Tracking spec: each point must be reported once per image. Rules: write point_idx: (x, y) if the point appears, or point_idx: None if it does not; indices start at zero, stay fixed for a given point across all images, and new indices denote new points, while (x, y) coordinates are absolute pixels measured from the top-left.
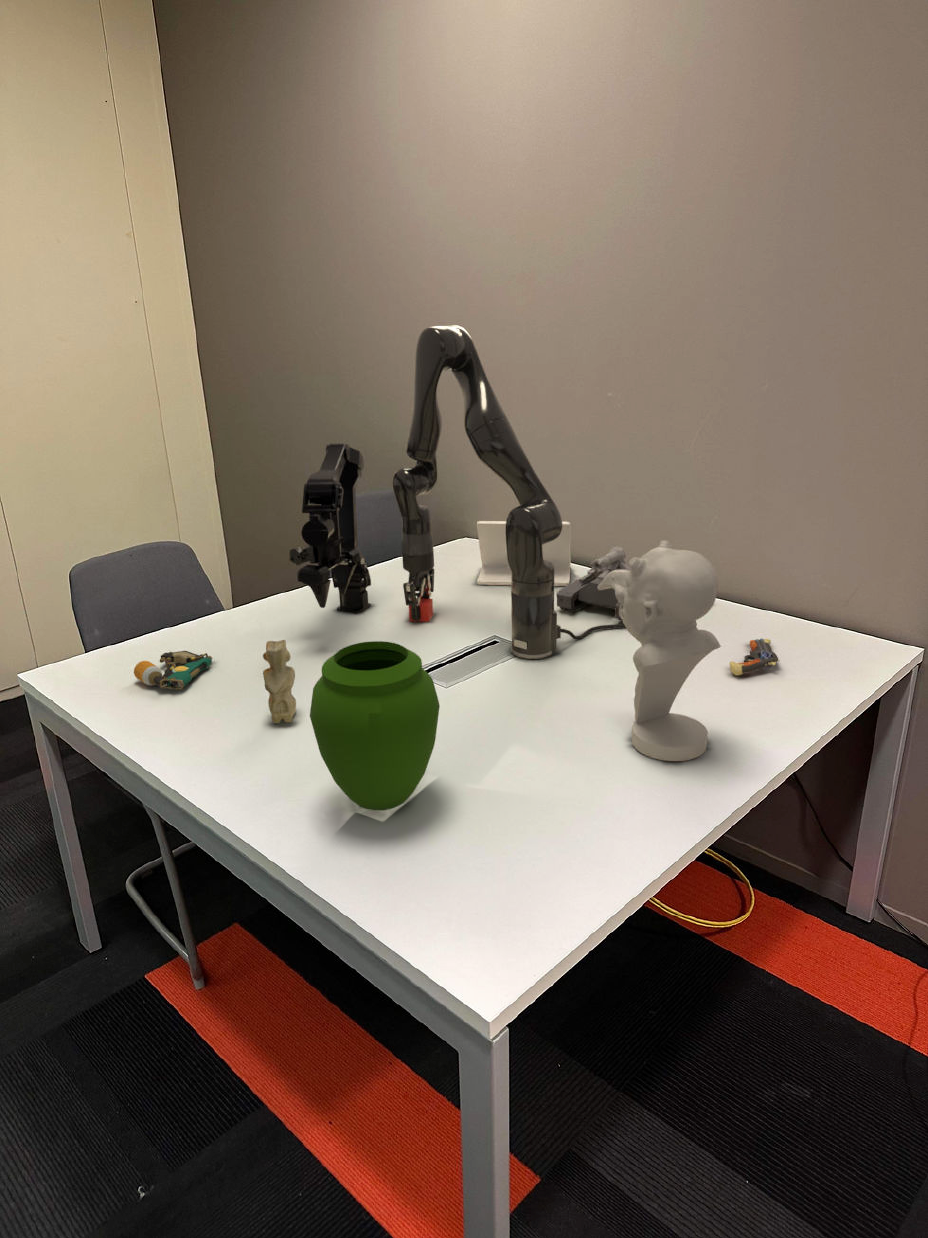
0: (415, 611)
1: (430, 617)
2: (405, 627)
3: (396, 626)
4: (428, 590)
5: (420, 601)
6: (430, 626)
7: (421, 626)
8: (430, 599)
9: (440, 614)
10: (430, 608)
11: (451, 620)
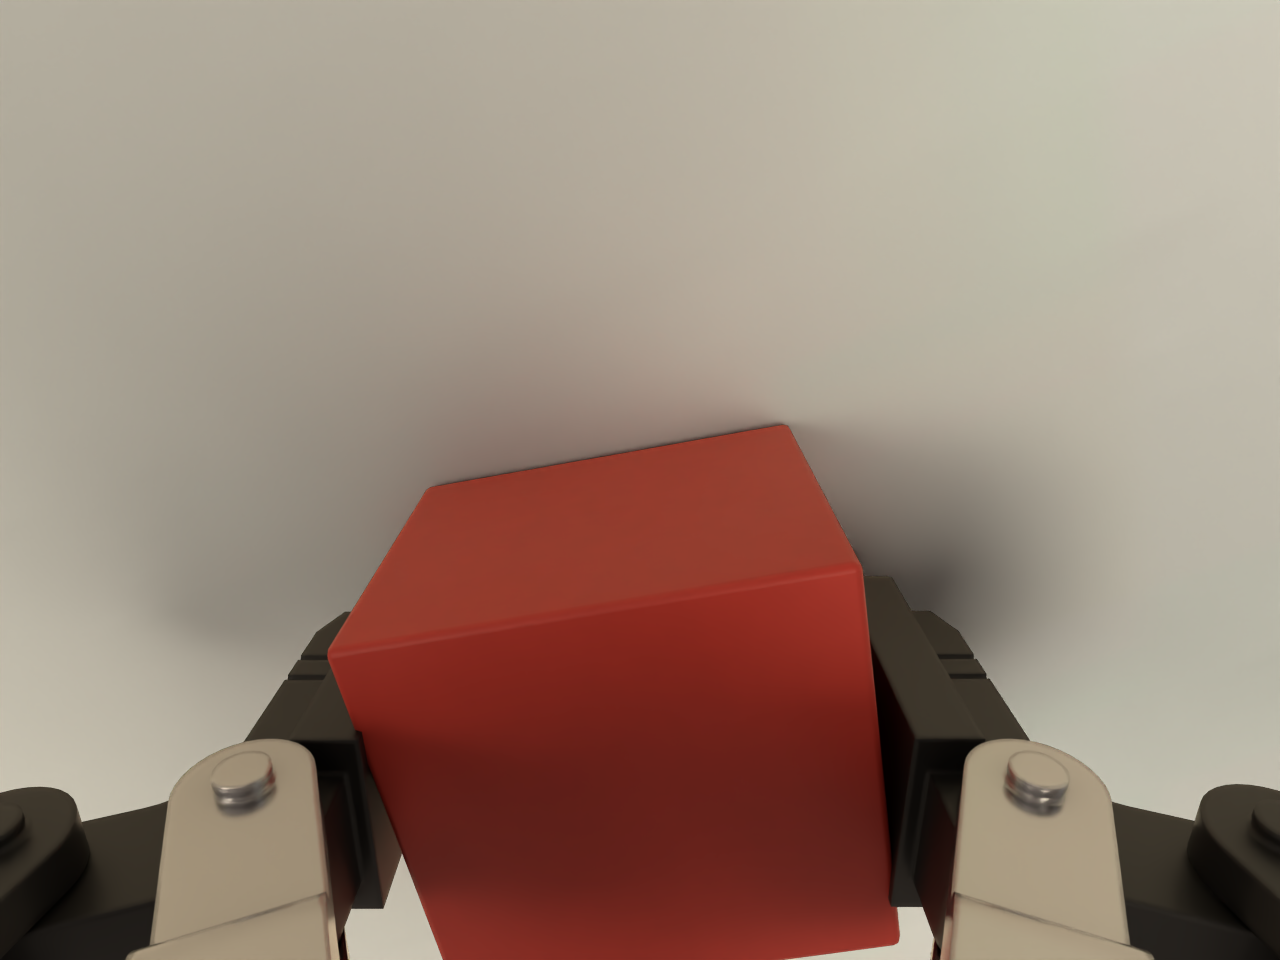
0: (1003, 722)
1: (657, 456)
2: (1085, 672)
3: None
4: (332, 912)
5: (615, 823)
6: (993, 315)
7: (1013, 464)
8: (398, 675)
9: (362, 369)
10: (624, 531)
11: (593, 20)
